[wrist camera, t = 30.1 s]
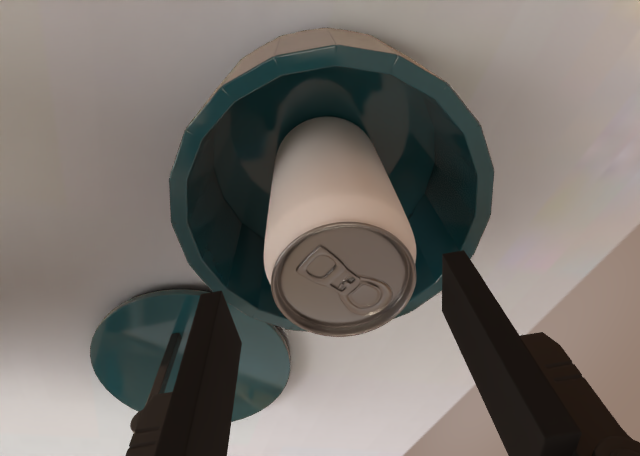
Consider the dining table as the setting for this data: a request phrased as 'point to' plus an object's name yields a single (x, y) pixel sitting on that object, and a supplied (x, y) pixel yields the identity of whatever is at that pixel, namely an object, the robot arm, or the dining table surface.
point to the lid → (181, 352)
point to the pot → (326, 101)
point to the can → (336, 232)
